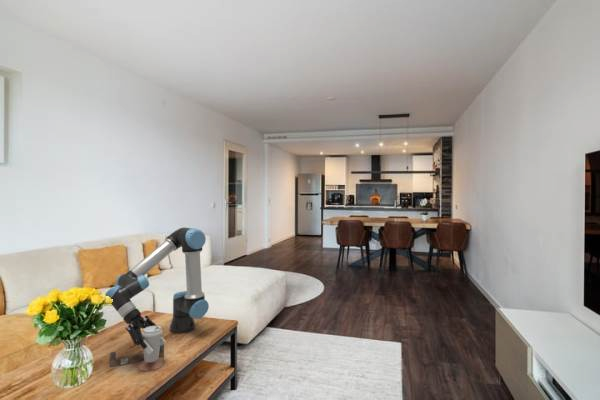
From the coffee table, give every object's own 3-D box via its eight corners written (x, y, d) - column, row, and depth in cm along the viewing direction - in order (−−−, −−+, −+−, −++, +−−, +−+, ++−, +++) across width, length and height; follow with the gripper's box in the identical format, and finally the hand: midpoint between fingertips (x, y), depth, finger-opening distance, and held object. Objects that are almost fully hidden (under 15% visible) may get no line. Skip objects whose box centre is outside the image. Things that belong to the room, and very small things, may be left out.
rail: (163, 354, 170) (163, 343, 170) (166, 367, 157) (166, 355, 157) (110, 364, 159) (110, 352, 159) (108, 379, 146) (108, 366, 146)
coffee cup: (153, 365, 154) (154, 333, 154) (136, 362, 155) (137, 331, 156) (165, 355, 163) (166, 326, 163) (149, 353, 165) (150, 324, 165)
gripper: (139, 310, 173) (165, 343, 170) (108, 326, 151) (137, 363, 148) (148, 301, 172) (175, 334, 169) (118, 315, 150) (148, 353, 147)
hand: (157, 347), depth 159 cm, fingers closed on coffee cup, 9 cm apart
